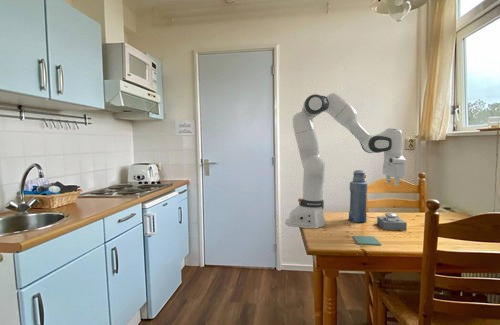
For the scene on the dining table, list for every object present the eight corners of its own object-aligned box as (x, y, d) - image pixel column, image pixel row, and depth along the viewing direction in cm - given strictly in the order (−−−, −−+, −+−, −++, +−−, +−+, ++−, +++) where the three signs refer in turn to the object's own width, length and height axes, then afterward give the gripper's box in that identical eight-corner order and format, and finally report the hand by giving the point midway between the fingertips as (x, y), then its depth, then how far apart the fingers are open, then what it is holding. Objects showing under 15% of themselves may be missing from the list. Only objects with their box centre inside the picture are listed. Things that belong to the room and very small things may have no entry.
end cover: (387, 228, 145) (387, 215, 144) (383, 224, 151) (383, 212, 150) (399, 228, 144) (399, 215, 143) (394, 225, 150) (395, 212, 149)
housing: (384, 229, 142) (384, 222, 142) (377, 223, 153) (377, 216, 153) (406, 230, 141) (406, 222, 141) (397, 224, 152) (397, 217, 152)
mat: (358, 244, 122) (358, 243, 122) (352, 236, 131) (352, 235, 131) (381, 245, 120) (381, 244, 120) (373, 237, 130) (373, 236, 130)
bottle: (347, 218, 164) (348, 169, 162) (364, 218, 163) (365, 169, 161) (350, 222, 155) (351, 170, 153) (368, 223, 153) (369, 171, 151)
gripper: (380, 158, 155) (379, 181, 156) (394, 160, 135) (393, 187, 136) (391, 157, 155) (391, 181, 156) (407, 160, 134) (407, 187, 135)
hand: (392, 184), depth 146 cm, fingers open, 8 cm apart
